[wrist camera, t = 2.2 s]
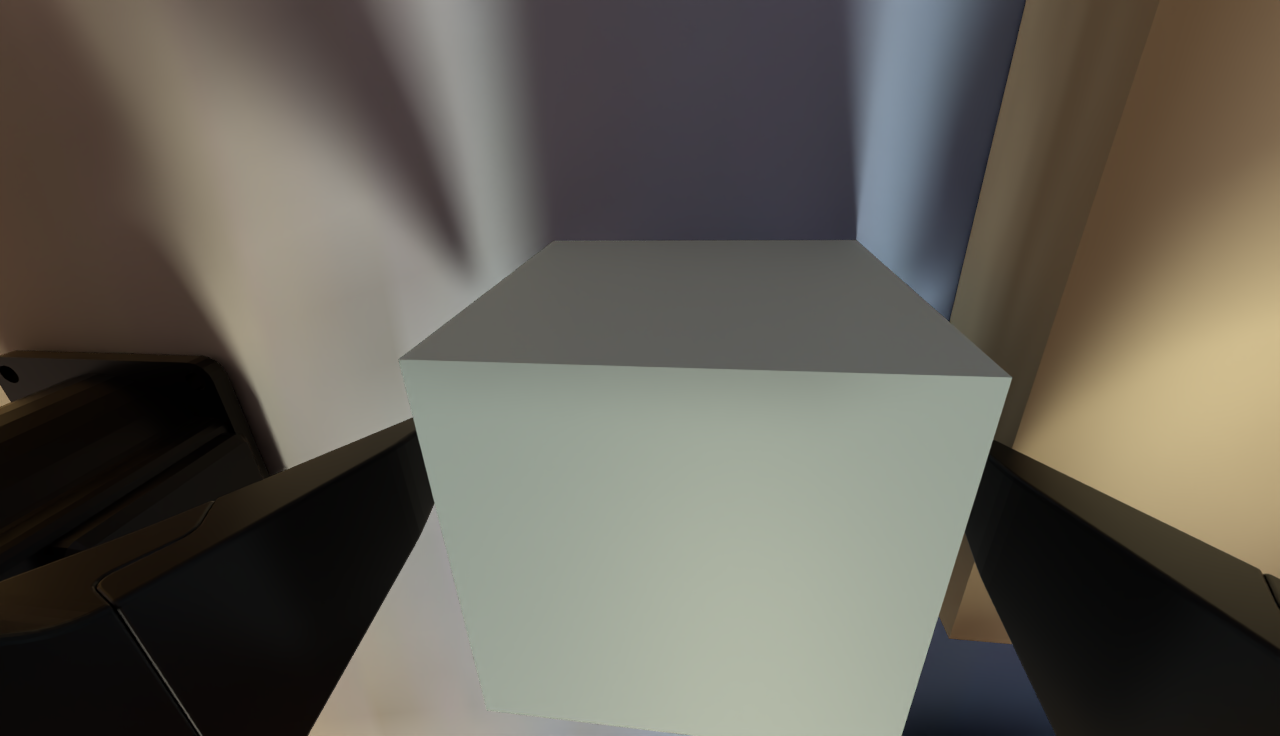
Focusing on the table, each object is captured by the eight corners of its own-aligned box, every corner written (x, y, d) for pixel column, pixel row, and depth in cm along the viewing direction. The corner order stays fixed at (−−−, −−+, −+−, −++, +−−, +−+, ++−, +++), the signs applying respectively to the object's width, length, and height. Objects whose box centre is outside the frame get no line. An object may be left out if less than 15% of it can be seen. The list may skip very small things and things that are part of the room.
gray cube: (577, 474, 13) (486, 711, 8) (555, 239, 11) (398, 359, 6) (818, 488, 13) (894, 759, 7) (855, 239, 10) (1012, 377, 5)
